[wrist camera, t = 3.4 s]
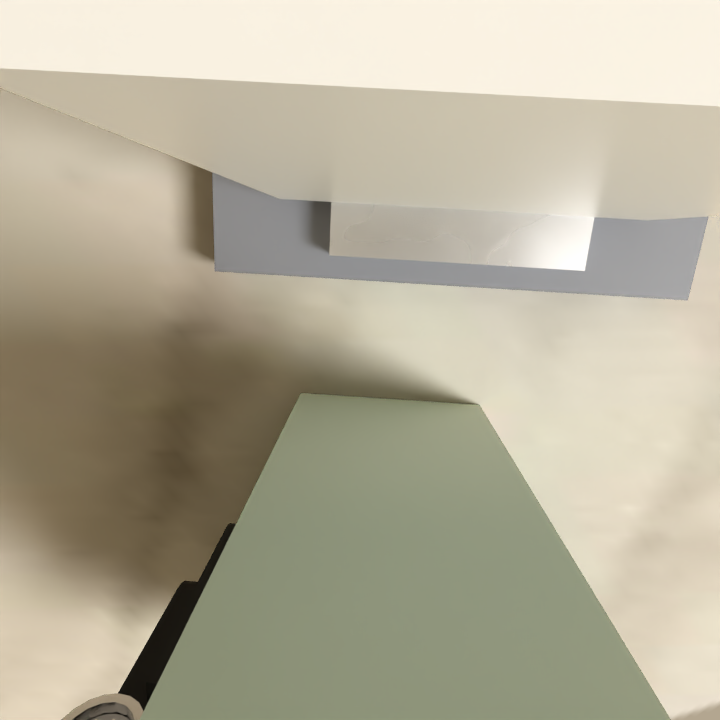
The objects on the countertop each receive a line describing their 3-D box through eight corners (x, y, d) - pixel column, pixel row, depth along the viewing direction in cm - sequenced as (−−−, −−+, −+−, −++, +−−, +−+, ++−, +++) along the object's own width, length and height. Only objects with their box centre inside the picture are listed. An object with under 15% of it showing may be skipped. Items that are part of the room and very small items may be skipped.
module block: (489, 404, 11) (845, 940, 3) (453, 657, 13) (591, 1415, 5) (301, 392, 12) (65, 870, 3) (294, 644, 14) (148, 1363, 5)
